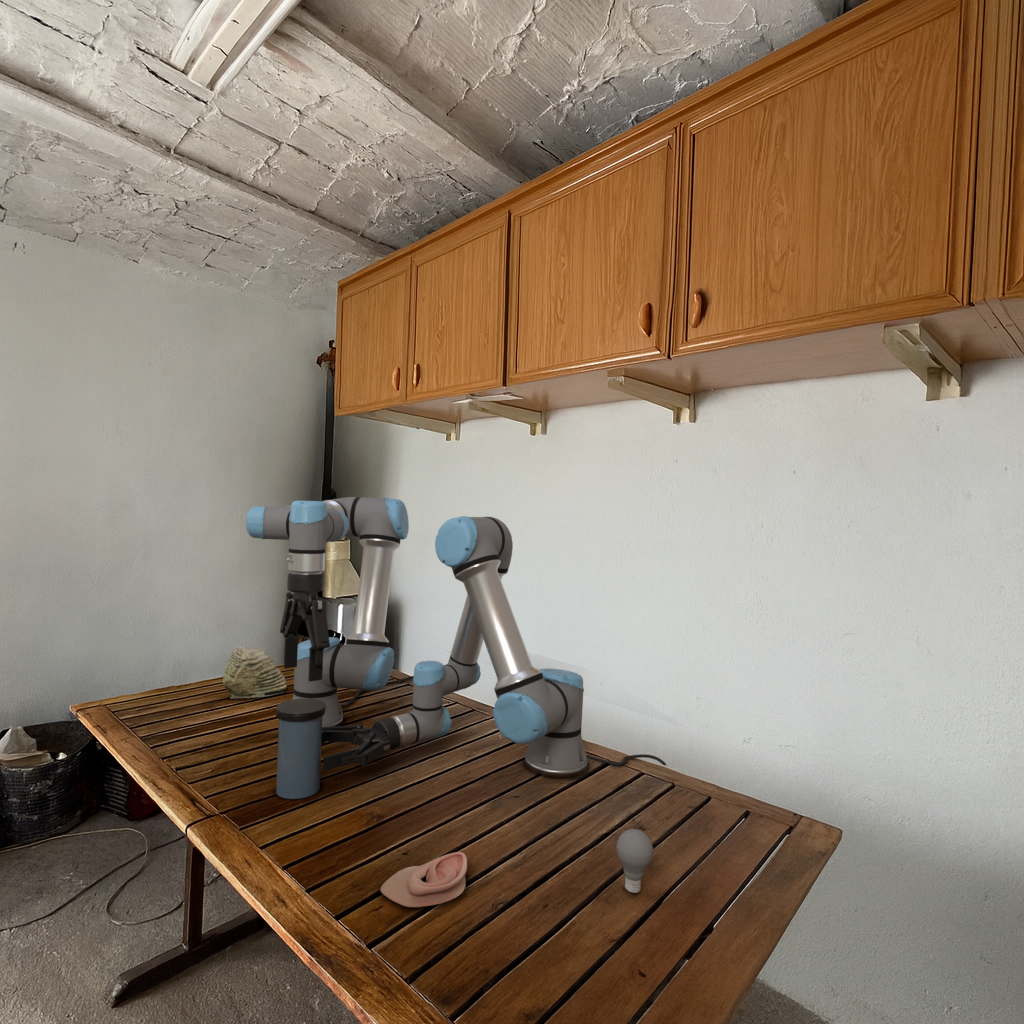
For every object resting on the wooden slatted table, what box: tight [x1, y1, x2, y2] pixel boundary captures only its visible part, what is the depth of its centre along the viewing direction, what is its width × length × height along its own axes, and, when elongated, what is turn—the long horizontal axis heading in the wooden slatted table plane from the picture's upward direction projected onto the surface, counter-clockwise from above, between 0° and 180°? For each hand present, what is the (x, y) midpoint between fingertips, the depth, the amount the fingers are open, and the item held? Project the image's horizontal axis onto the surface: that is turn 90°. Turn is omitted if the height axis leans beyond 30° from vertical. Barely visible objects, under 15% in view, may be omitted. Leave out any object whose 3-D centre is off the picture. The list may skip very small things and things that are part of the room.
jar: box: [275, 716, 323, 800], centre depth 137 cm, size 9×9×18 cm
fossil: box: [222, 646, 288, 699], centre depth 198 cm, size 9×18×15 cm, turn 132°
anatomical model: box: [380, 851, 468, 908], centre depth 104 cm, size 13×4×12 cm
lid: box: [275, 698, 326, 722], centre depth 136 cm, size 10×10×2 cm
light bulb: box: [615, 828, 654, 894], centre depth 106 cm, size 6×6×10 cm
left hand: (302, 673), depth 136 cm, fingers open, 11 cm apart
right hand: (310, 753), depth 140 cm, fingers open, 13 cm apart
